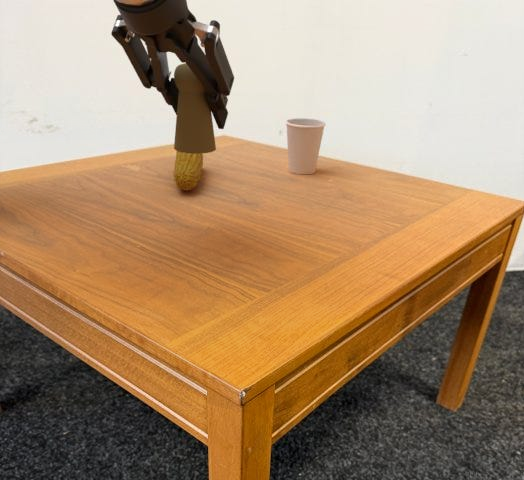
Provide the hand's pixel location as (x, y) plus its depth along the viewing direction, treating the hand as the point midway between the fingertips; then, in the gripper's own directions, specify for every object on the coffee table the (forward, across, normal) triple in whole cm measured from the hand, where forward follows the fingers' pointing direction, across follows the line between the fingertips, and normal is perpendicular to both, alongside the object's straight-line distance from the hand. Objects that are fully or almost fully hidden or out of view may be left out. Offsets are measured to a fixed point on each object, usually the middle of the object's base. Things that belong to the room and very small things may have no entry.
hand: (204, 118), depth 81 cm
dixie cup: (+39, -6, -16) cm, 42 cm away
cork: (0, 0, +5) cm, 5 cm away
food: (+27, +13, -4) cm, 30 cm away
